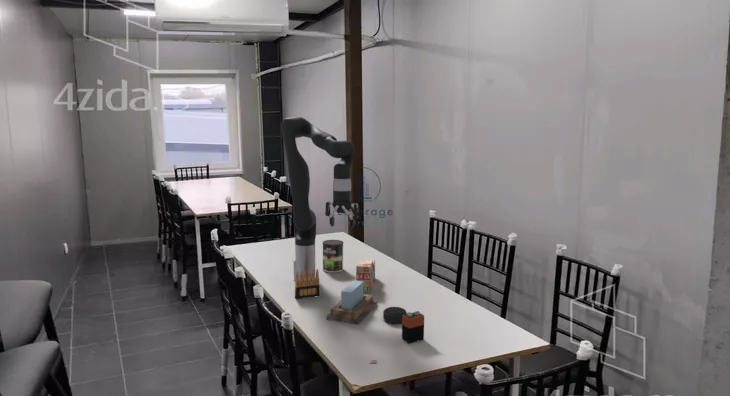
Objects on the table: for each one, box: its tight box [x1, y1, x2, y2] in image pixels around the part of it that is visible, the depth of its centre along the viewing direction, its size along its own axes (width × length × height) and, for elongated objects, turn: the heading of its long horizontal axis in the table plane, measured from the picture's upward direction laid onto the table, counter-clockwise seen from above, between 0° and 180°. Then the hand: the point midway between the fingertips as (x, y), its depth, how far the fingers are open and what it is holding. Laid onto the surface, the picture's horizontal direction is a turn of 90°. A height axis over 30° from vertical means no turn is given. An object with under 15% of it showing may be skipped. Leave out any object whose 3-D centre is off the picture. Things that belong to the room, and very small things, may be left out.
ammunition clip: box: [294, 268, 321, 300], centre depth 233 cm, size 11×2×12 cm, turn 112°
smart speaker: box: [382, 306, 408, 325], centre depth 210 cm, size 9×9×4 cm
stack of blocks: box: [355, 257, 376, 294], centre depth 249 cm, size 21×6×12 cm, turn 173°
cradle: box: [326, 293, 378, 325], centre depth 217 cm, size 13×22×4 cm, turn 160°
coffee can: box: [322, 239, 344, 273], centre depth 272 cm, size 10×10×14 cm
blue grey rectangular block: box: [340, 280, 364, 310], centre depth 217 cm, size 4×14×9 cm, turn 161°
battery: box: [401, 310, 425, 344], centre depth 192 cm, size 4×7×10 cm, turn 121°
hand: (342, 227), depth 231 cm, fingers open, 8 cm apart
